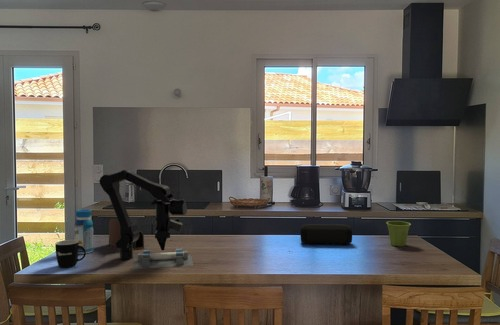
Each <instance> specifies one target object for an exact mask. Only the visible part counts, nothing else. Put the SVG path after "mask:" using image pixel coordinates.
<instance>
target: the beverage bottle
mask: <svg viewBox="0 0 500 325" xmlns="http://www.w3.org/2000/svg"><path fill="white" fill-rule="evenodd" d="M75 217H76V220H75V223H74V229H73V231H74V240H77V241H78V242H79V245H80V246H82V247H83V248H84V249H85V251H86V254H91V253H92V252H94V226H93V225H94V224H93V222H94V221H93V220H92V219H91V217H92V210H91V209H89V208H88V209H87V208H86V209H85V208H83V209H76V211H75ZM79 254H81V255H84V251H83V249H82V248H79V249H78V255H79Z"/></svg>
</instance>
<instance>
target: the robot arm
mask: <svg viewBox="0 0 500 325" xmlns="http://www.w3.org/2000/svg"><path fill="white" fill-rule="evenodd" d="M123 181H127V182H130V183H131V184H133V185H135V186H137V187H139V188H141V189H143V190H145V191H146V192H148V193H149V194H150V196H152V197H153V198H154V199H153V200H152V202H150V205H154V206H155V232H154V239H156V241H157V243H158V244H159V247H160V249H161V251H165V248H166V242H167V240H168V239H170V238H171V231H170V230H174V231H177V232H180V233H181V230H182V227H183V222H181V221H180V219H179V218H177V217H176V218H175V219H171V216H170V214H171V215H172V216H186V215H187V213H188V212H187V210H188V206H187V203H186V199H176V198H175V196H174V194H173V193H172V191H171V188H170V187H169V186H168V185H166V184H161V183H157V182H153V181H151V180H149V179H147V178H145V177H143V176H141V175H139V174H137V173H135V172H134V171H131V170H130V169H123V170H121V171H118V172H115V173H110V174H108V173H107V174H103V175H102V176H101V177H100V178H99V185H100V187H101V189H102V190H103V191H104V192H105V194H107V196H108V197H109V200H110V202H111V206H112V208H113V210H114V213H115V216H116V219H117V220H118V221H119V224H120V236H121V239H120V240H119V241H118V242H117V243H116V246H117V248H116V249H118V248H120V249H119V259H120V260H121V261H130V260H132V259H134V250H133V244H135V243H136V240H138V238H139V236H140V234H139V232H140V231H141V230H140V229H139V226H138V224H137V223H133V222H132V221H131V219H130V217H129V213H128V211H127V208H126V206H125V203H124V200H123V198H122V195H121V192H120V188H121V187H120V182H123Z"/></svg>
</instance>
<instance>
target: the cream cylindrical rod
mask: <svg viewBox="0 0 500 325" xmlns="http://www.w3.org/2000/svg"><path fill="white" fill-rule="evenodd" d="M188 252H189V251H188V250H183V257H184V260H185V259H188V255H189V253H188ZM137 258H138V262H142V258H143V252H139V253H137ZM169 259H176V251H172V252H169V251H168V252H154V253H153V252H152V253H151V252H150V260H169Z"/></svg>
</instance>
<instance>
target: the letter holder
mask: <svg viewBox="0 0 500 325" xmlns="http://www.w3.org/2000/svg"><path fill="white" fill-rule="evenodd" d="M108 223H109V226H108V246H112V247H113V248H116V249H117V250H120V248H117V246H116V243H117V242H118V241H119V240H120V239H121V236H120V224H119V221H118V219H117V218H114V219H113V218H111V219H109V222H108ZM139 231H140V232H139V234H140V236H139V238H138V240H136V243H135V244H133V251H138V250H139V249H140V250H144V249H145V236H144V233H143V232H142V231H141V230H139Z"/></svg>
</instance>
